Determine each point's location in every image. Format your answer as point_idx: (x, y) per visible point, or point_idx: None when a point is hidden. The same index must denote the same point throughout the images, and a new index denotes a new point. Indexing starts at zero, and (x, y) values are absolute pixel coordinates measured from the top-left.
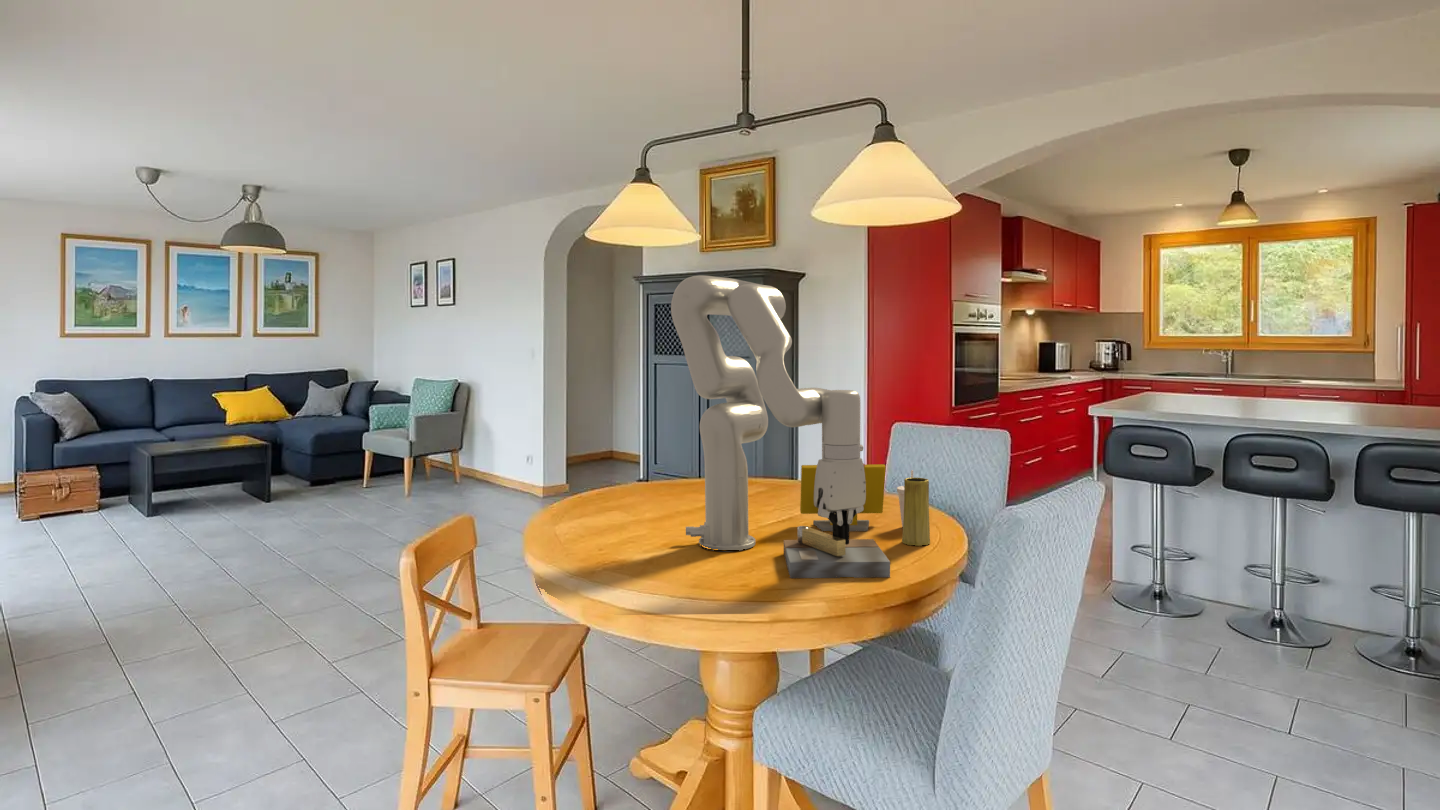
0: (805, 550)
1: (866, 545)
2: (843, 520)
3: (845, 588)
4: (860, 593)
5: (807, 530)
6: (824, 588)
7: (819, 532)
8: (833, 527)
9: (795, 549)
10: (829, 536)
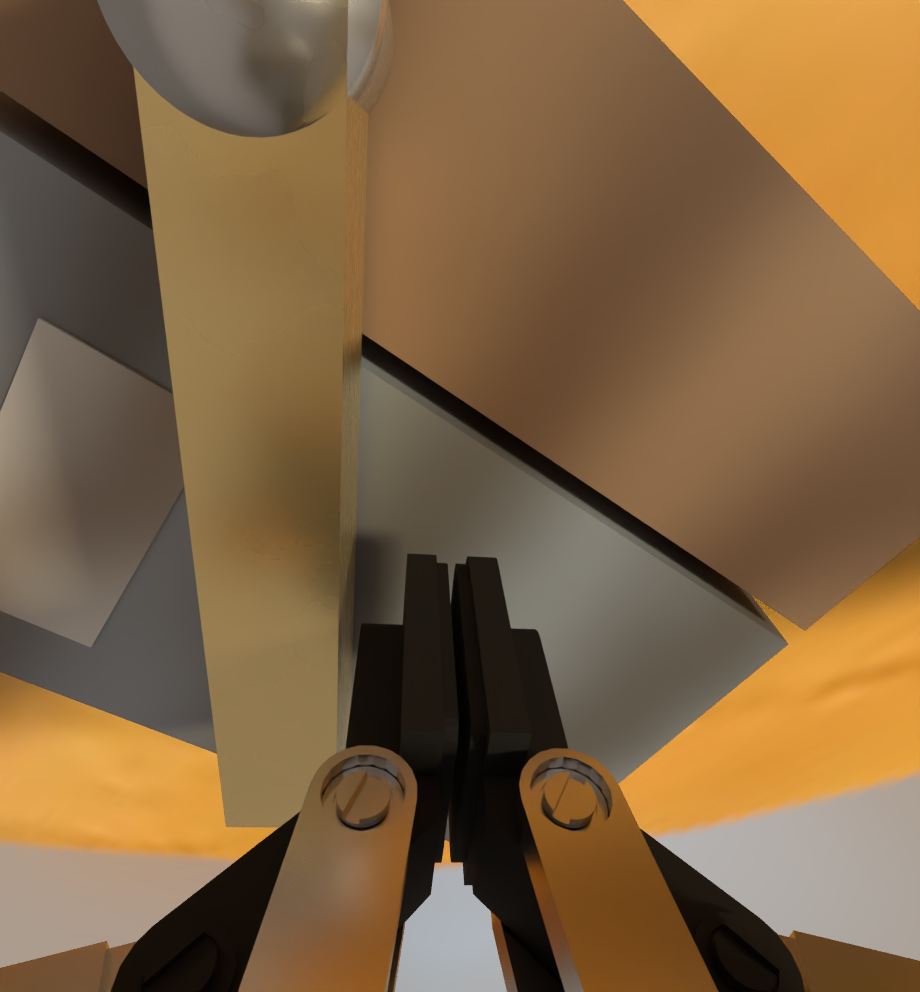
0: (132, 347)
1: (770, 558)
2: (486, 882)
3: (163, 788)
4: (190, 853)
5: (168, 259)
6: (47, 745)
7: (276, 483)
8: (347, 745)
9: (28, 235)
10: (268, 685)
